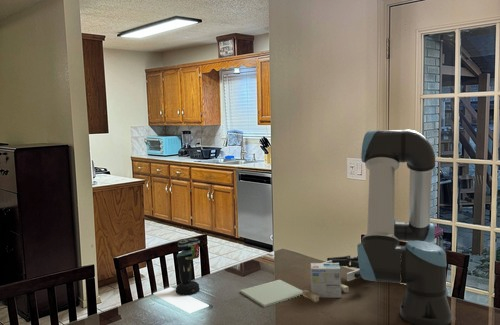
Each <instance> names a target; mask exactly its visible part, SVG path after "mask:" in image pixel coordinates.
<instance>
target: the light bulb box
mask: <svg viewBox="0 0 500 325" xmlns="http://www.w3.org/2000/svg"><path fill="white" fill-rule="evenodd" d="M341 273H342V271H341V266H340V265H339V263H323V262H310V292H311V293H314V294H316V295H318V296H319V298H334V299H335V298H337V299H338V298H339V299H340V298H342V291H341V284H342V274H341Z"/></svg>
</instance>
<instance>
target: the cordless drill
mask: <svg viewBox="0 0 500 325" xmlns="http://www.w3.org/2000/svg"><path fill="white" fill-rule="evenodd" d="M200 241H201V240H200V239H199V238H196V237H194V238H190V237H189V238H180V239H178V241H177V243H176V244H177V247H178V249H179V250H181V251H180V252H179V253H177V255H176V258H177V264H178V271H179V279H180V282H181V283H179V284H177V285H176V287H175V294H176V295H179V296H191V295H196V294H197V293H199V292H200V291H201V289H200V284H199V283H198V282H197V281H195V280H192V263H191V262H192V260H195V259H199V257H200V243H201V242H200Z"/></svg>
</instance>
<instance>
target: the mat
mask: <svg viewBox="0 0 500 325" xmlns="http://www.w3.org/2000/svg"><path fill="white" fill-rule="evenodd" d="M303 291H304V290H302V289H300V288H298V287H296V286H294V285H292V284H290V283H287V282H285V281H284V280H281V279H277V280H274V281H273V280H272V281H270V282H266V283H261V284H258V285H255V286H250V287H246V288H243V289H240V290H239V292H240V293H241V294H243V295H244V296H246V297H247V298H249V299H251V300H252V301H254V302H255V303H257V304H258V305H260V306H261V307H263V308H266V307H269V306H273V305H276V304H278V303H279V302H280V303H283V302H286V301H289V300H292V299H291V298H293V299H295V298H294V297H296V298H298V297H297V296H299V297H301V296H300V295H303ZM288 299H289V300H288ZM280 303H279V304H280Z"/></svg>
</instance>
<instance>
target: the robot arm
mask: <svg viewBox="0 0 500 325" xmlns="http://www.w3.org/2000/svg"><path fill="white" fill-rule="evenodd" d="M360 154H361V156H360V157H361V158H360V159H361V161H362V162H363V163H365V167H366V169H368V171H369V175H368V196H367V197H368V201H367V202H368V203H367V204H368V206H367V224H366V225H367V228H366V229H367V230H366V232H367V233H366V234H365V235H364V236H363V237H362V239H361V240H362V241H361V242H359V243H357V245H356V247H357V250H356V251H357V256H354V257H351V255H345V256H336V257H335V256H334V257H327V258H326V261H324V262H322V263H339V265H340V267H348V268H354V269H355V270H351V271H350V272H346V281H347V282H350V281H354V280H355V279H359V278H362V279H363V280H365V281H372V282H374V283H376V282H383V283H394V284H396V283H397V284H405V293H404V296H403V299H402V302H401V304H400V306H399V311H400V313H399V314H400V316H401V318H402V319H403V320H404V321H406V322H408V323H410V324H412V325H450V324H451V323H452V321H453V315H452V314H453V313H452V309H451V306H450V304H449V300H448V297H447V266H448V263H447V253H446V251H445V249H443V248H442V247H441V246H439V245H437V244H435V243H433V242H434V241H435V239H436V238H435V237H436V232H435V231H436V229H435V224H434V223H431V221H430V220H431V201H432V198H431V197H432V174H433V173H432V172H433V170H434V169H435V167H436V154H435V151H434V149H433V147H432V144H431V143H430V141H429V140H428V139H427V138H426V137H425V136H424V135H423V134H421V133H420V132H418V131H417V130H412V129H391V130H390V129H385V130H381V129H376V130H369V131H366V132H365V133H364V136H363V138H362V145H361V153H360ZM362 162H361V163H362ZM400 163H406V167H407V168H408V169H409V195H408V196H409V197H408V198H409V199H408V202H409V205H408V215H409V216H408V221H397V220H396V217H395V193H396V192H395V190H396V189H395V186H396V185H395V184H396V183H395V182H396V179H395V177H396V176H395V175H396V174H395V171H396V170H398V169H399V167H400ZM400 242H406V243H405V245H400Z"/></svg>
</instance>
